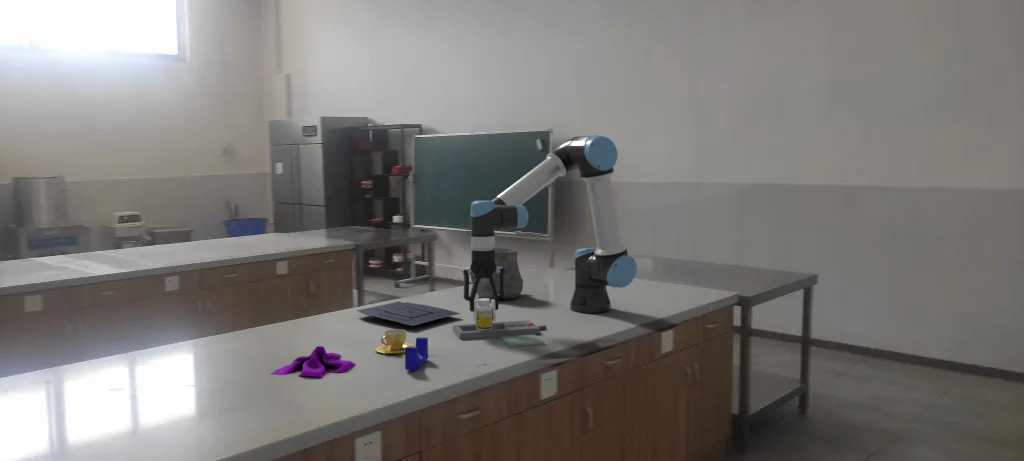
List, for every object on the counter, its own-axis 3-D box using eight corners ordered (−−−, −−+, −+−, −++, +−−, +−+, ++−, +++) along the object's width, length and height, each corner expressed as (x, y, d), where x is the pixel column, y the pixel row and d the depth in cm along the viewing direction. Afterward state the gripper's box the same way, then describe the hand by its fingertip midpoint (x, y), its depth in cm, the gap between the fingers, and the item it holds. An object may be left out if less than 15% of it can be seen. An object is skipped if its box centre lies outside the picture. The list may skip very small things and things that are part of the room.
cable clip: (412, 357, 211) (412, 336, 210) (428, 358, 210) (427, 337, 210) (400, 369, 199) (399, 347, 198) (416, 370, 198) (415, 348, 198)
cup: (400, 342, 229) (400, 325, 228) (424, 349, 220) (423, 331, 219) (367, 349, 220) (366, 331, 220) (390, 357, 212) (389, 338, 211)
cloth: (331, 354, 216) (330, 333, 216) (368, 366, 204) (368, 344, 203) (259, 370, 200) (258, 347, 200) (295, 384, 188) (294, 360, 187)
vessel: (538, 299, 296) (538, 250, 294) (492, 306, 284) (491, 254, 282) (508, 292, 314) (508, 245, 312) (463, 297, 302) (462, 248, 300)
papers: (401, 307, 279) (401, 298, 278) (461, 321, 260) (461, 310, 260) (351, 319, 259) (351, 309, 259) (412, 334, 241) (412, 323, 241)
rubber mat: (534, 336, 234) (534, 334, 234) (544, 344, 224) (544, 342, 224) (500, 338, 232) (500, 336, 232) (509, 347, 221) (509, 345, 221)
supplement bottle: (475, 327, 241) (475, 297, 240) (492, 327, 242) (491, 297, 241) (476, 331, 236) (475, 301, 235) (493, 330, 236) (492, 300, 236)
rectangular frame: (540, 325, 250) (540, 317, 250) (551, 333, 239) (551, 325, 238) (452, 331, 242) (452, 323, 242) (459, 339, 231) (459, 331, 231)
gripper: (508, 246, 242) (509, 316, 245) (452, 249, 238) (453, 320, 240) (514, 249, 235) (514, 321, 237) (456, 251, 230) (458, 325, 233)
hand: (484, 320), depth 239 cm, fingers closed on supplement bottle, 5 cm apart
